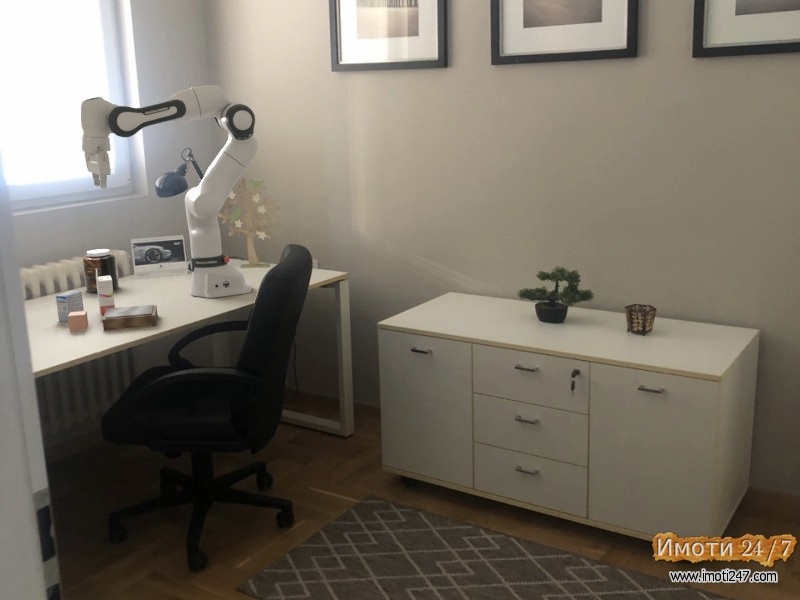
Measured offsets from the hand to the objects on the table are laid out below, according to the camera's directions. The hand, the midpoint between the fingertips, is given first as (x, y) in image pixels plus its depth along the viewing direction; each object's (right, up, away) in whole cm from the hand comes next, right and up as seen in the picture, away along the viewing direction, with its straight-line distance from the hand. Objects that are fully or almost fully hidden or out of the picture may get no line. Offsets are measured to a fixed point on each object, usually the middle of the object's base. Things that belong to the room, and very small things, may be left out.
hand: (100, 187), depth 289 cm
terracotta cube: (0, -48, -18) cm, 51 cm away
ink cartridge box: (+2, -43, +2) cm, 43 cm away
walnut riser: (+15, -46, -14) cm, 50 cm away
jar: (-12, -35, +36) cm, 52 cm away
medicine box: (-8, -45, -6) cm, 46 cm away
